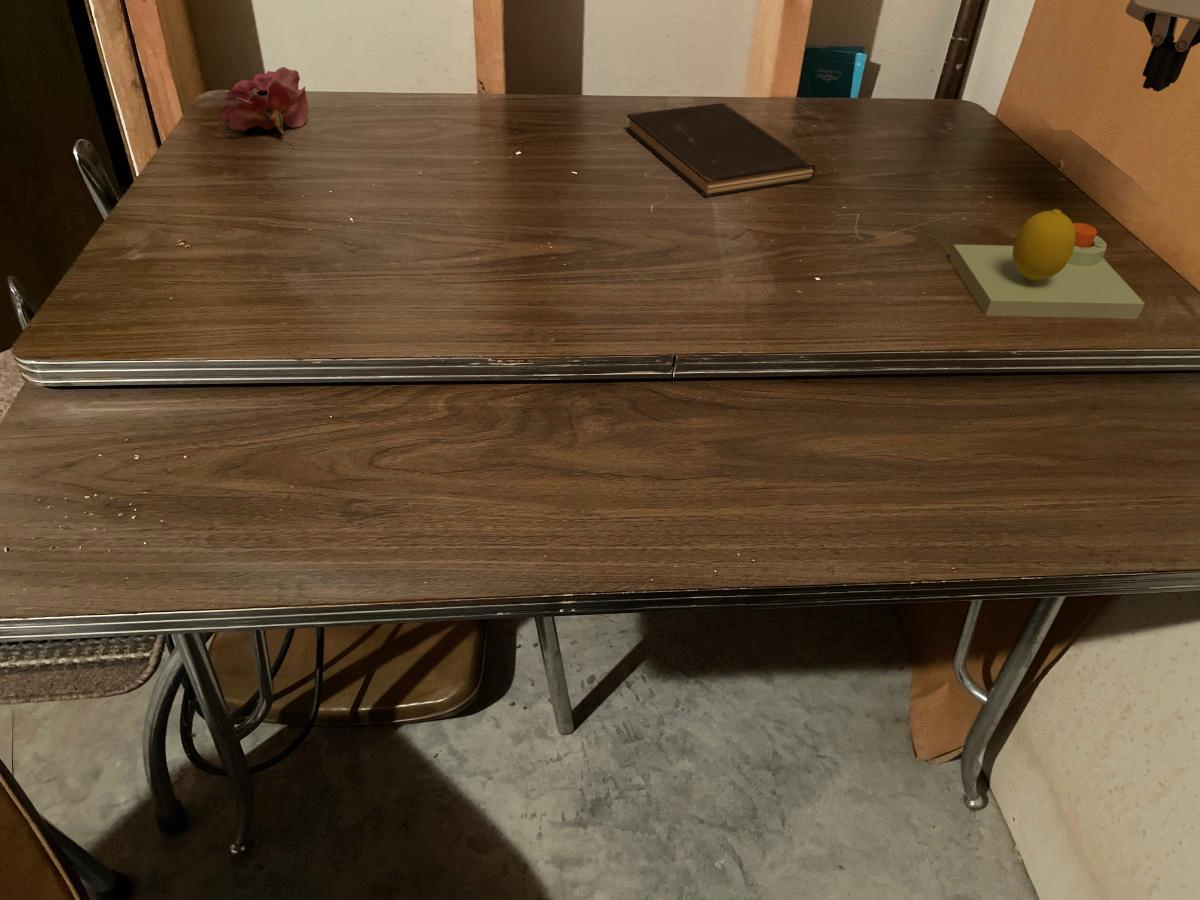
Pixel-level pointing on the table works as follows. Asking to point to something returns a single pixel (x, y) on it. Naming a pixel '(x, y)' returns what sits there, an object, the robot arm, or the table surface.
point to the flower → (266, 102)
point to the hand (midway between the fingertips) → (1156, 86)
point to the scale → (1045, 284)
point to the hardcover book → (718, 149)
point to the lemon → (1044, 245)
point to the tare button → (1084, 235)
